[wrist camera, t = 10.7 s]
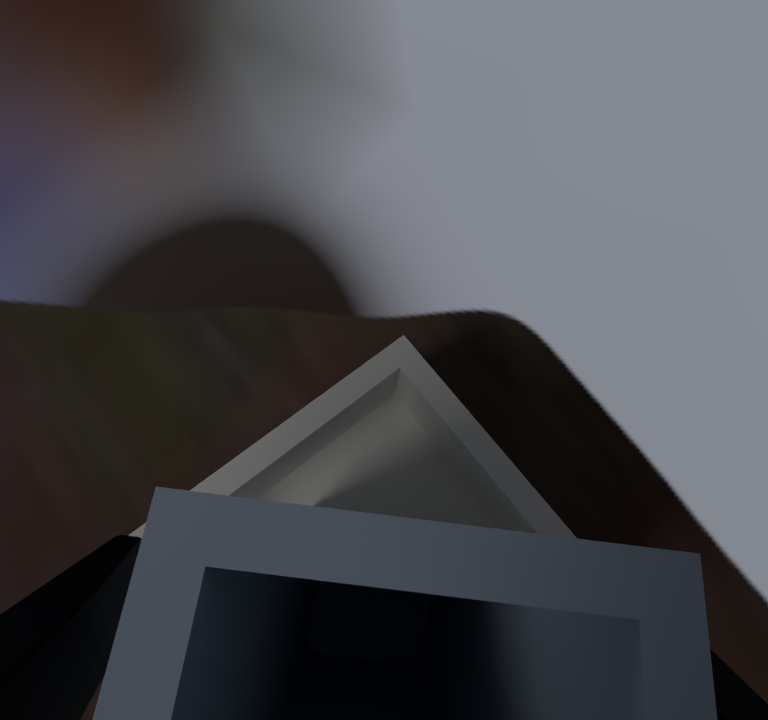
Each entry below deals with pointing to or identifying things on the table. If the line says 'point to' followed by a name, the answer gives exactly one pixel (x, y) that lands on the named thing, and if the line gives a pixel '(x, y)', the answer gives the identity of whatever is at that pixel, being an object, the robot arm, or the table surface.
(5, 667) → the robot arm
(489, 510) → the cream crate
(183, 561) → the grey hollow square tube
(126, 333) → the table surface
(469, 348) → the table surface
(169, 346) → the table surface
